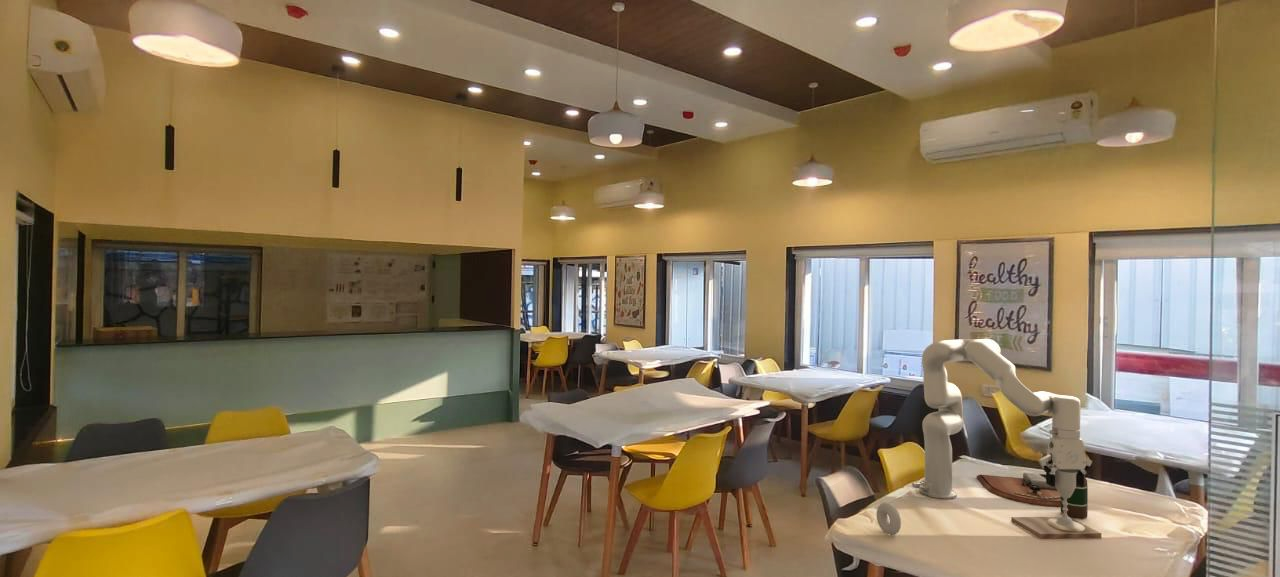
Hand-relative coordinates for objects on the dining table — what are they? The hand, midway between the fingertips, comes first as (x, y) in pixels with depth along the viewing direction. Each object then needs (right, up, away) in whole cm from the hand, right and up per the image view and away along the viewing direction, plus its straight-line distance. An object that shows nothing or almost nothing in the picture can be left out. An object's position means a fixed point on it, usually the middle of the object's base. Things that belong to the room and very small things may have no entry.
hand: (1064, 485), depth 195 cm
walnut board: (-3, -15, +1) cm, 15 cm away
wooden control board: (+13, -16, +36) cm, 41 cm away
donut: (-60, -15, -4) cm, 62 cm away
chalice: (0, -13, 0) cm, 13 cm away
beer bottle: (+13, -15, +13) cm, 24 cm away
